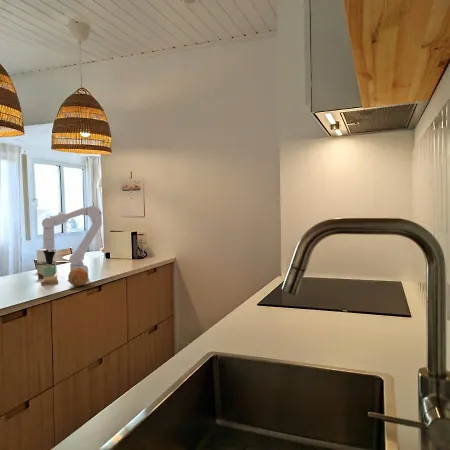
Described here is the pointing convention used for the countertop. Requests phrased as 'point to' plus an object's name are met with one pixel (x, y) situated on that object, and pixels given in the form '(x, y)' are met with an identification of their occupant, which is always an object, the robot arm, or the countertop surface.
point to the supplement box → (42, 256)
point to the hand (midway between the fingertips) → (49, 263)
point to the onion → (78, 276)
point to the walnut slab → (49, 282)
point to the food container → (40, 268)
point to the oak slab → (50, 278)
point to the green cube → (48, 271)
